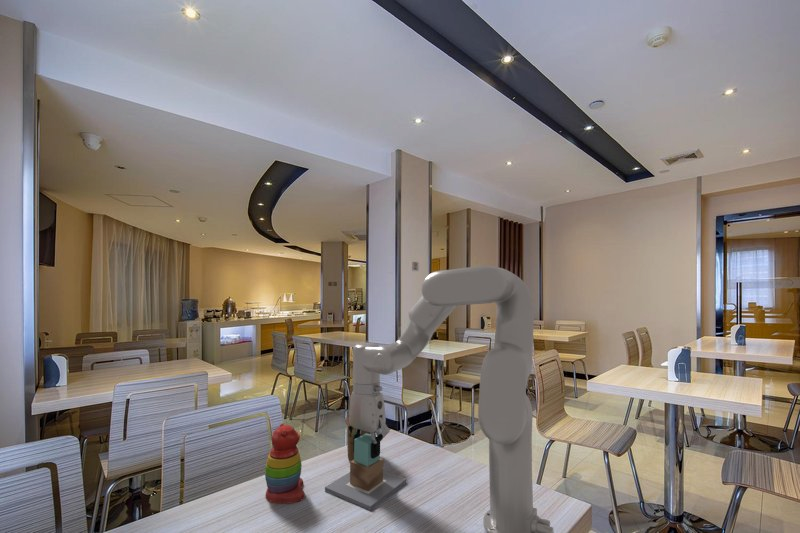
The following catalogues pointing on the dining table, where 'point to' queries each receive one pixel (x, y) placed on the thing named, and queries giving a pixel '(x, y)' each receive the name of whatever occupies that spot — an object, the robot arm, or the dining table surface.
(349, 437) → the brown rounded lumpy part
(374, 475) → the walnut cube
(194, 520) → the dining table surface
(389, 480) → the plate
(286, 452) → the stacking bear
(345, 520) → the dining table surface
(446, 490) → the dining table surface
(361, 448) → the teal block
